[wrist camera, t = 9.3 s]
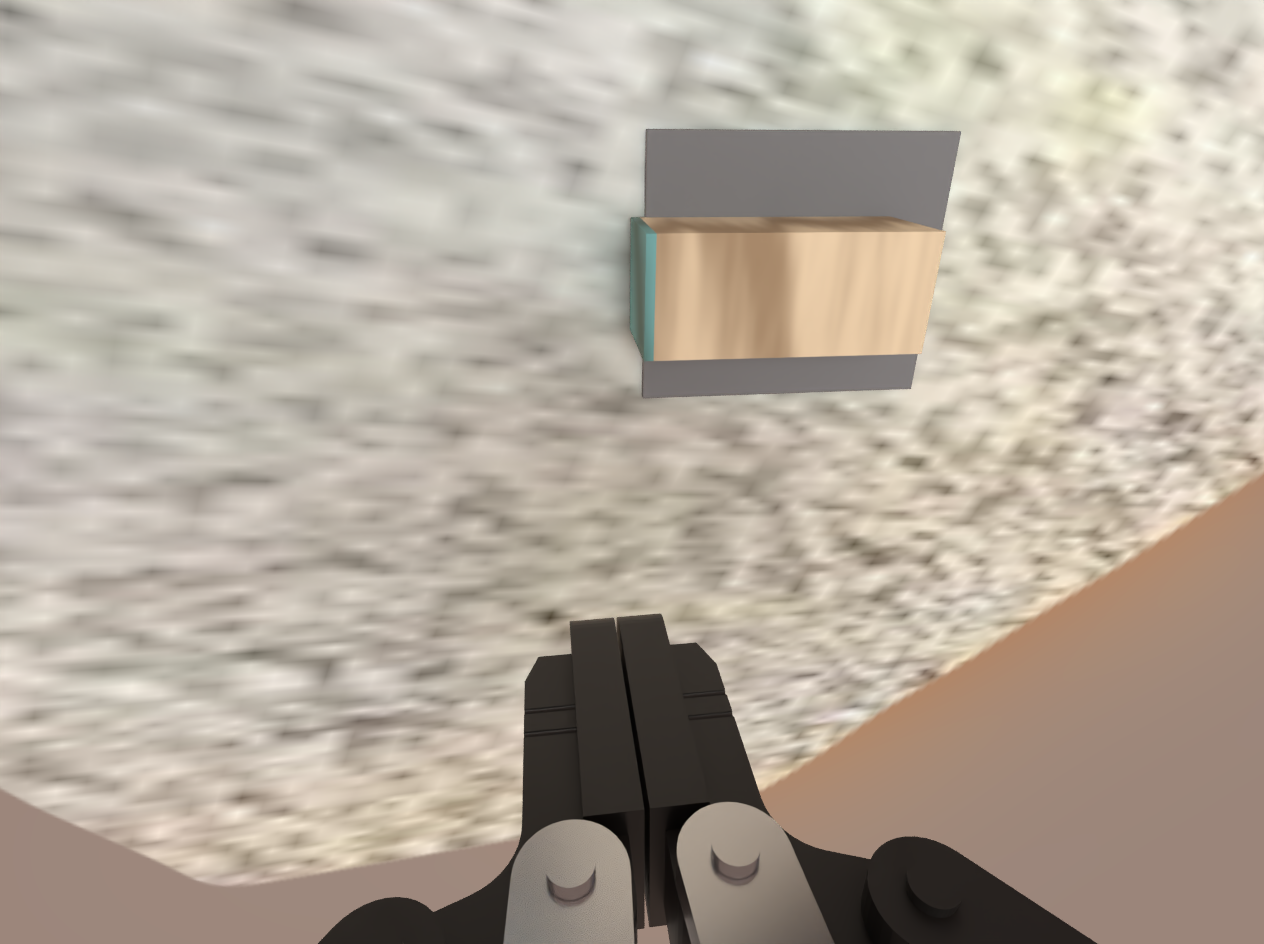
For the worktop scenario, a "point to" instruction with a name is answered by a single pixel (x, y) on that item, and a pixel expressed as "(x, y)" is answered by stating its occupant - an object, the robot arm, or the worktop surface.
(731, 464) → the worktop surface
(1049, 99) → the worktop surface
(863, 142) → the slate mat
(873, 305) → the maple block
